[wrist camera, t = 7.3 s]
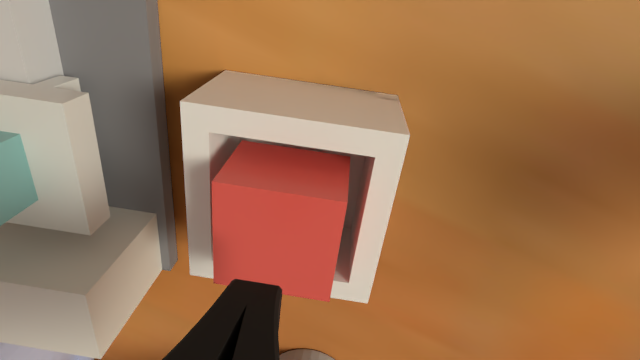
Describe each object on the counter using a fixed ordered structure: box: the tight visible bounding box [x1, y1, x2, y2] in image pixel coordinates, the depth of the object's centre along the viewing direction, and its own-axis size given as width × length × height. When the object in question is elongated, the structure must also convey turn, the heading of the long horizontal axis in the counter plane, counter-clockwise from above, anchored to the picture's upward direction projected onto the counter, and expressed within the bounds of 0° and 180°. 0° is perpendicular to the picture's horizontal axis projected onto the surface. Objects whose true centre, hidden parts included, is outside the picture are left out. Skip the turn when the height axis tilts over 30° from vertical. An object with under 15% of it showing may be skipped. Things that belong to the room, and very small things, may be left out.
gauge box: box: [180, 70, 410, 303], centre depth 17 cm, size 8×8×5 cm
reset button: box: [212, 140, 350, 302], centre depth 15 cm, size 4×4×4 cm
